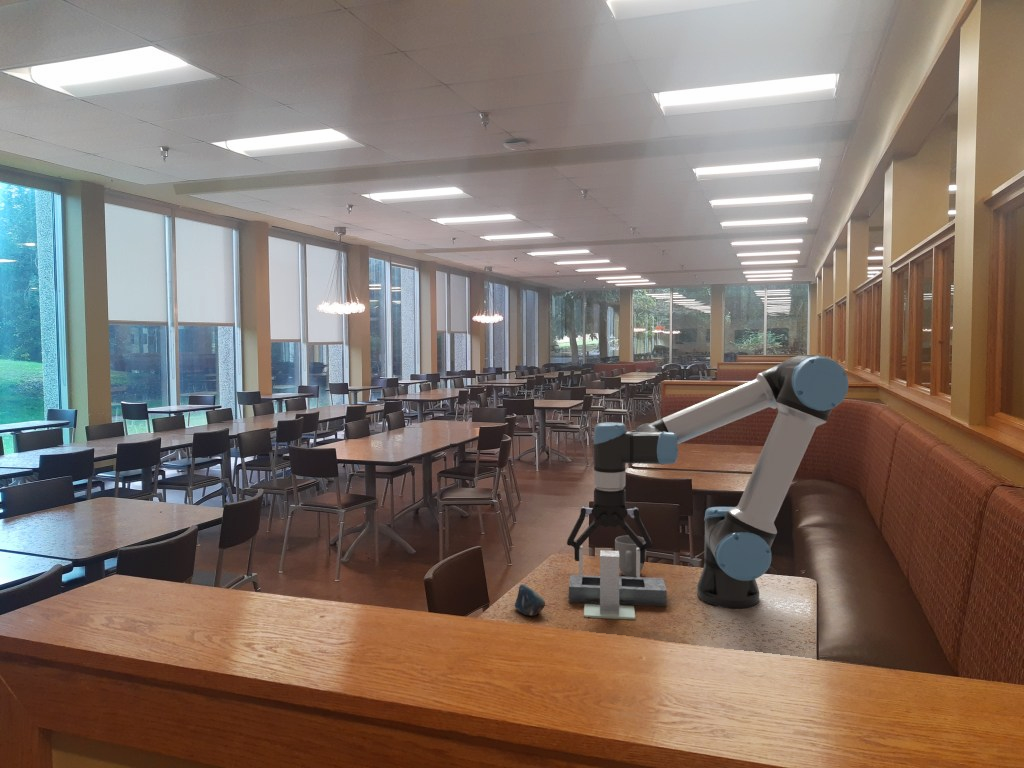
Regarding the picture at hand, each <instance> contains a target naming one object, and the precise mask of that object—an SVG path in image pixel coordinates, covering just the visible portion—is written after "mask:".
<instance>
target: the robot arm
mask: <svg viewBox="0 0 1024 768" xmlns="http://www.w3.org/2000/svg"><path fill="white" fill-rule="evenodd" d="M848 391H849V377H848V375H847V373H846V371H845V369H844V368H843V367H842V366H841V364H839V363H838V362H837V361H835V360H833V359H831V358H829V357H827V356H824V355H823V356H821V355H808V354H807V355H806V354H804V355H803V354H801V355H796V356H792V357H790V358H788V359H785V360H784V361H782V362H780V363H778V364H776V365H773V366H772V367H770V368H768V369H766V370H764V371H761V372H759V373H757V375H756V378H755V379H752V380H750V381H748V382H746V383H743V384H740V385H739V386H736V387H734V388H733V387H732V389H729V390H727V391H724V392H722V393H720V394H719V393H718V394H717V395H715V396H713V397H710V398H707V399H705V400H703V401H700V402H698V403H696V404H694V405H691V406H687V407H686V408H684V409H681V410H679V411H677V412H674V413H671V414H669V415H667V416H665V417H662V418H661V419H657V420H656V421H652V422H651V423H648V422H647V423H643V424H641V425H639V426H637V427H636V429H635V430H634V431H629V430H627V428H626V427H627V426H626V424H625V423H623V422H609V421H607V422H600V423H597V424H595V426H594V429H593V433H594V434H593V486H594V489H593V507H587V506H586V505H582V506H580V511H579V512H580V513H579V517H578V518H577V520H576V521H575V524H574V526H573V528H572V530H571V532H570V534H569V536H568V538H567V540H566V544H567V546H569V547H570V546H571V547H572V548H573V549H574V561H575V562H578V564H579V565H578V567H579V568H578V571H579V574H578V575H579V576H582V575H584V574H583V571H584V570H583V569H584V568H583V567H584V559H583V558H584V557H583V556H584V554H583V553H584V551H583V550H584V549H583V548H584V547H583V546H584V545H583V544H584V542H586V541H587V539H588V538H589V537H590V536H591V535H592V534H593V532H594V531H595V530H597V529H598V527H600V526H601V527H603V528H609V527H612V528H617V527H620V528H621V529H622V530H623V531H624V532H625V533H626V534H627V535H628V536H629V537H630V538H631V539H632V540H633V541H634V543H635V544H636V545H637V546H638V547H639V548H636V576H635V577H637V578H640V577H641V573H640V563H644V564H645V563H646V558H645V550H646V549H652V548H653V546H654V545H653V541H652V539H651V537H650V536H649V535H650V534H649V533H648V532H647V531H648V530H647V529H646V527H645V526H644V523H643V522H642V520H641V517H640V511H639V507H636V506H634V507H633V508H627V505H626V495H627V493H626V489H625V487H626V483H627V482H626V480H627V478H626V473H627V472H626V464H642V465H643V464H645V465H646V464H647V465H661V466H662V465H671V464H672V465H673V464H675V463H676V462H677V461H678V455H679V446H678V445H679V444H681V443H684V442H686V441H687V442H688V441H689V440H691V439H694V438H697V437H698V436H701V435H704V434H706V433H708V432H711V431H713V430H715V429H718V428H720V427H724V426H725V425H728V424H730V423H734V422H735V421H738V420H741V419H743V418H745V417H747V416H751V415H753V414H755V413H757V412H760V411H762V410H766V409H767V408H768V409H769V408H771V409H773V410H775V409H777V415H776V418H775V419H774V421H773V424H772V427H771V428H770V431H769V432H768V435H767V437H766V441H765V442H764V445H763V447H762V450H761V452H760V454H759V456H758V458H757V461H756V463H755V466H754V467H753V470H752V473H751V475H750V477H749V479H748V482H747V483H746V486H745V488H744V491H743V493H742V494H741V497H740V500H739V502H738V503H737V505H736V506H712V507H708V508H707V509H706V510H705V513H704V518H703V520H704V565H703V568H702V571H701V574H700V577H699V579H698V582H697V585H696V596H697V597H698V599H700V600H701V601H703V602H705V603H707V604H710V605H713V606H715V607H716V606H717V607H723V608H728V609H745V608H750V607H754V606H756V605H757V604H759V602H760V589H759V587H758V586H759V585H758V583H757V580H756V579H759V578H761V577H762V576H763V575H764V574H765V573H766V572H767V571H768V569H769V568H770V567H771V563H772V550H771V548H772V545H773V542H774V540H775V538H776V536H777V535H778V534H777V533H778V531H777V528H776V526H775V521H776V518H777V517H778V514H779V511H780V510H781V507H782V505H783V502H784V500H785V498H786V497H787V494H788V492H789V489H790V487H791V484H792V482H793V479H794V478H795V475H796V473H797V471H798V470H799V466H800V464H801V462H802V460H803V458H804V455H805V453H806V451H807V449H808V446H809V444H810V442H811V440H812V437H813V435H814V433H815V431H816V428H818V427H819V426H821V425H825V424H826V423H827V422H828V419H829V417H830V414H831V413H832V411H833V409H834V408H836V407H837V406H838V405H840V404H841V403H842V402H843V401H844V399H845V398H846V397H847V394H848ZM590 514H592V516H593V517H594V519H593V521H592V522H591V523H590V524H589V525H588V526H587V528H586V529H585V530H584V531H583V532H582V533H581V534H580V535H579V537H578V538H577V539H576V537H577V536H578V533H579V531H580V529H581V527H582V525H583V523H584V521H585V518H587V517H589V516H590ZM628 515H629V516H630V517H631V519H634V522H635V523H636V526H637V528H638V530H639V532H640V534H641V537H643V538H644V540H645V542H644V543H643V542H642V541H641V540H640V539H639V537H640V536H639V535H637V534H636V533H635V532H634V530H633V529H632V528H631V526H629V524H628V523H627V521H626V520H625V518H626V517H627V516H628ZM638 536H639V537H638ZM646 551H647V550H646Z"/></svg>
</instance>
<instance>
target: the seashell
mask: <svg viewBox="0 0 1024 768" xmlns="http://www.w3.org/2000/svg"><path fill="white" fill-rule="evenodd" d="M545 606H546V600H545V599H544V598H543V597H542V596H541V595H540V594H539V593H538V592H536V591H535V590H534V589H532V588H531V587H529V586H528V585H526V584H523V583H521V584H520V585H519V586H518V591H517V597H516V599H515V603H514V607H515V609H516V610H517V611H518V612H520V613H522V614H523V615H524V616H527V617H533V616H536V615H538V614H539V613H541V611H542V610H543V609H544V608H545Z"/></svg>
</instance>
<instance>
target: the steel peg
mask: <svg viewBox="0 0 1024 768" xmlns="http://www.w3.org/2000/svg"><path fill="white" fill-rule="evenodd" d="M599 576H600V604H599V605H600V614H615V615H619V606H620V604H619V576H620V568H619V551H615V550H603V549H602V550H599Z"/></svg>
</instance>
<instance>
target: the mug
mask: <svg viewBox="0 0 1024 768" xmlns="http://www.w3.org/2000/svg"><path fill="white" fill-rule="evenodd" d="M637 536H638V537H639V539H640V540H641V541H642V542H643V543H644V542H645V540H644V538H643V536H639V535H637ZM636 548H639V547H638V546H637V545H636V544H635V543H634V541H633V540H632V539H631V538H630V537H629V536H628V534H627V535H620V536H617V537H615V539H614V551H619V571H620V574H621V575H623V576H624V577H637V576H636ZM646 558H647V549H646V550H645V559H646ZM644 565H645V562H644V563H640V574H641V573H642V570H643V568H644Z"/></svg>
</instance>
